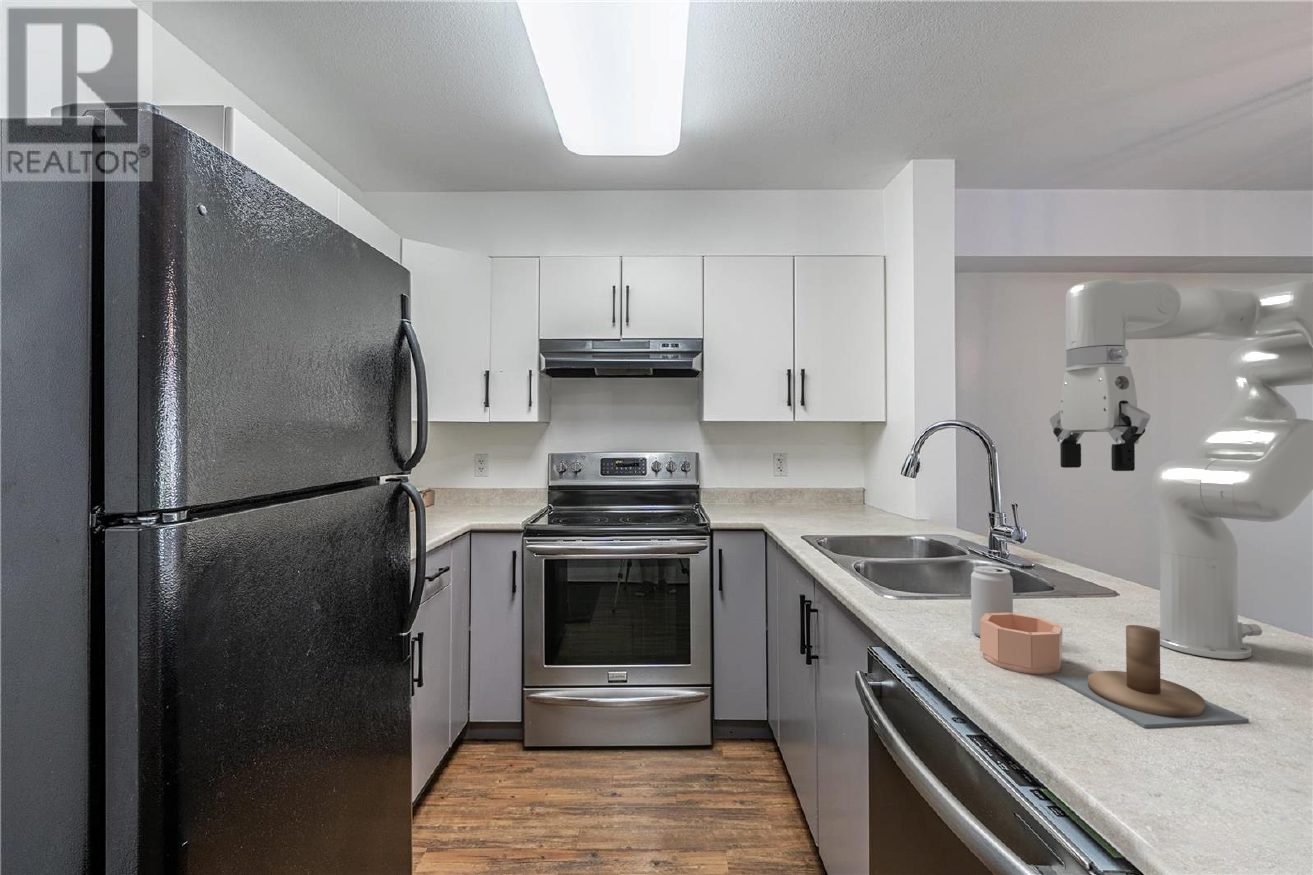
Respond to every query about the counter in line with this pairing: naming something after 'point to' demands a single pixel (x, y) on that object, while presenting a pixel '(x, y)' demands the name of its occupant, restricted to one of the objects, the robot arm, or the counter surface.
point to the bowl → (1021, 643)
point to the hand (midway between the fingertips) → (1095, 469)
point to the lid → (1145, 680)
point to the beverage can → (990, 593)
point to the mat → (1147, 720)
